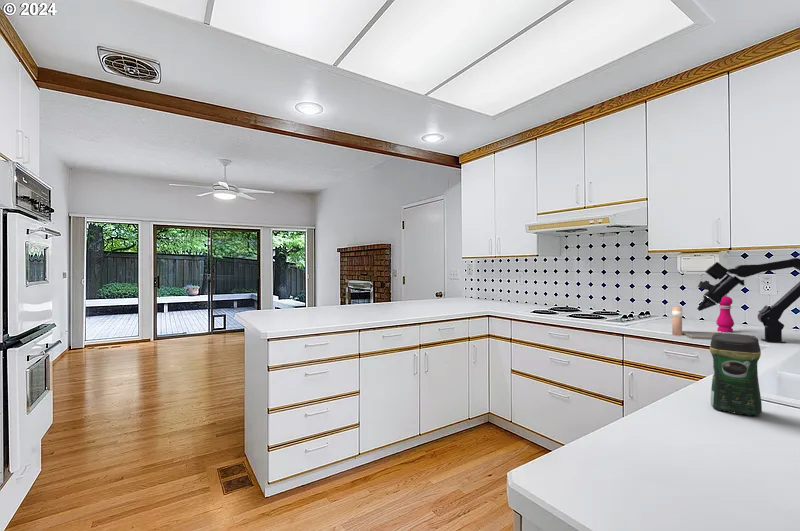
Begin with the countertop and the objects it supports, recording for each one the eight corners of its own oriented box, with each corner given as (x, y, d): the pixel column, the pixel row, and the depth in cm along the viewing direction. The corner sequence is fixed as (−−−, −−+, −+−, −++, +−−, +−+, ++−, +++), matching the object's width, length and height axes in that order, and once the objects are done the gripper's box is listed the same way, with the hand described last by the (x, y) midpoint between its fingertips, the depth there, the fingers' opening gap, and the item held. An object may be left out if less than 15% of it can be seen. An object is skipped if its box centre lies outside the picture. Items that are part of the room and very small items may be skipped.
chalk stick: (683, 335, 198) (683, 307, 198) (673, 335, 199) (673, 307, 199) (680, 334, 202) (680, 306, 202) (671, 334, 203) (670, 306, 203)
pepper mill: (727, 330, 213) (727, 292, 213) (737, 332, 205) (737, 293, 205) (713, 330, 213) (712, 292, 213) (722, 332, 206) (722, 293, 206)
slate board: (737, 340, 185) (737, 338, 185) (691, 338, 190) (691, 336, 190) (721, 334, 200) (721, 332, 200) (679, 333, 206) (679, 330, 206)
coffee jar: (761, 410, 98) (760, 333, 98) (762, 419, 92) (762, 338, 92) (710, 401, 104) (710, 329, 104) (709, 410, 98) (708, 333, 98)
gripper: (707, 275, 202) (683, 298, 208) (709, 274, 187) (682, 298, 193) (729, 290, 197) (703, 313, 203) (733, 290, 182) (704, 315, 187)
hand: (698, 309), depth 196 cm, fingers open, 9 cm apart
